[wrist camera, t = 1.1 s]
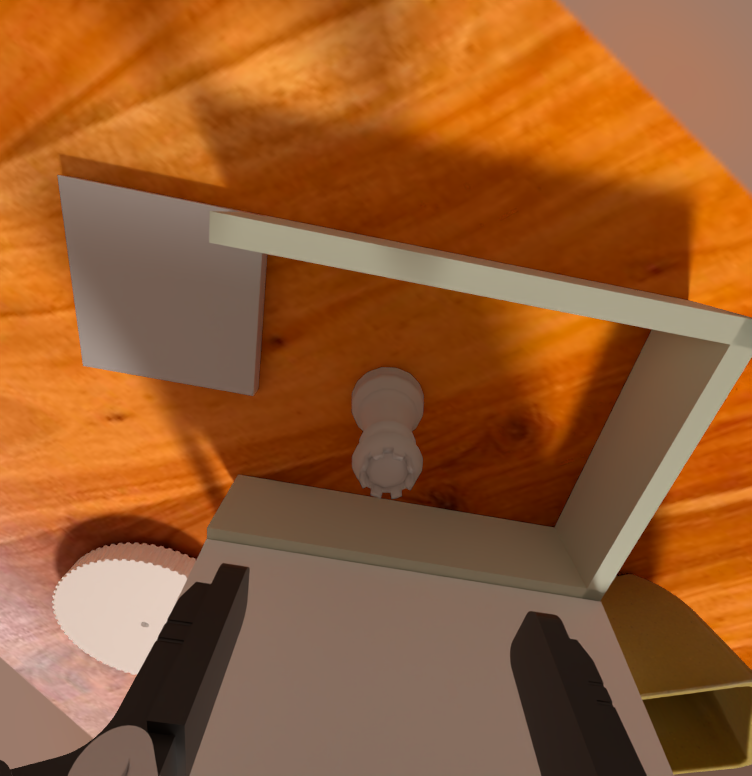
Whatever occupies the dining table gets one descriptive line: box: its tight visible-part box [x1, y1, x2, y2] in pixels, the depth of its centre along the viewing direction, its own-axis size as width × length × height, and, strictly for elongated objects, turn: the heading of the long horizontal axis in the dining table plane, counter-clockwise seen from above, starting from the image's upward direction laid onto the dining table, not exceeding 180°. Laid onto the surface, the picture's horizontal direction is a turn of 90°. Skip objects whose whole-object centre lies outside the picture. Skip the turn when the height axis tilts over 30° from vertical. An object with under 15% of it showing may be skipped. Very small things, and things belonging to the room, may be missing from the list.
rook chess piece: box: [352, 367, 424, 499], centre depth 20 cm, size 4×4×8 cm
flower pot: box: [600, 574, 752, 774], centre depth 26 cm, size 9×9×9 cm
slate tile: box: [57, 175, 267, 396], centre depth 21 cm, size 10×10×1 cm
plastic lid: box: [52, 542, 196, 675], centre depth 31 cm, size 14×14×2 cm
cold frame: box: [207, 211, 752, 601], centre depth 20 cm, size 24×24×12 cm
